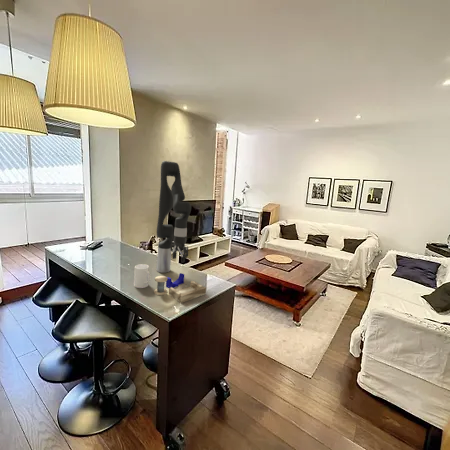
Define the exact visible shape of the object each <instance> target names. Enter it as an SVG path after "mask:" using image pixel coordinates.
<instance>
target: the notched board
mask: <svg viewBox="0 0 450 450" xmlns="http://www.w3.org/2000/svg"><path fill="white" fill-rule="evenodd" d="M206 293H207V287H205V286H204V285H202V284H199V282H196V281H194V280H192V281H190V285H189V286H187V287H184V288H180V289H175V288H172V287H171V288H168V296H169V297H171V298H173V299H174V300H176V301H177V302H179V303H180V304H183V303H185V302H188V301H191V300H194V299H197V298H198V297H199V298H200V297H201V296H204V295H206Z"/></svg>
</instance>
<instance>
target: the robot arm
mask: <svg viewBox="0 0 450 450" xmlns="http://www.w3.org/2000/svg"><path fill="white" fill-rule="evenodd" d="M179 165H180V164H178V162H175V161H169V160H168V161H167V160H163V161H162V162H161V165H160V187H159V188H160V190H159V191H160V192H159V201H158V217H157V224H156V226H157V227H156V237H157V238H158V239H163V240H162V241H159V242H158V245H157V256H156V265H155V266H156V267H155V268H156V271H157V272H158V273H161V274H163V273H164V274H166V273H169V272H170V271H171V265H172V263H171V262H172V259H173V260H174V259H177V252H178V253H179V254H180V255H181V257H180V258H181V259H180V262H181V263H182V264H183V263H185V262H186V257H188V256H189V246H185V244H186V243H187V236H188V235H187V233H188V228H187V227H188V220H189V217H190V214H191V211H192V205H191V203H190V202H189V201H184V200H185V198H186V196H185V192H184V189H183V186H182V176H181V170H180V169H181V168H180V166H179ZM168 177H174V180H173V183H172V185H171V188H170V186H169V183H168ZM171 210H173V212H174V213H175V214H181V216H178V217H176V218H175V221H174V226H173V224H166V223H165V224H164V222H165V219H166V218H167V216H168V215H169V213H170V212H171Z"/></svg>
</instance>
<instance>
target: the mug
mask: <svg viewBox="0 0 450 450" xmlns="http://www.w3.org/2000/svg"><path fill="white" fill-rule="evenodd" d="M149 268H150V265H148V264H144V263H140V264H136V265H135V266H134V274H133V275H134V278H133V287H134V288H137V289H144V288H147V287H148V286H149V283H150V281H151V273H150V271H149V270H150V269H149Z"/></svg>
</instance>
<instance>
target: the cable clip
mask: <svg viewBox="0 0 450 450" xmlns="http://www.w3.org/2000/svg"><path fill="white" fill-rule="evenodd" d="M166 277H167V278H168V279H167V281H166V282H165V287H166V288H168V289H169V288H171V287H172V288H174V289H175V288H178V287H179V286H180V285H182V284H184V283H185V274H184V273H182V272H179V274H178V277H177V279H175V281H172V278H171V277H169V276H166Z"/></svg>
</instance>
